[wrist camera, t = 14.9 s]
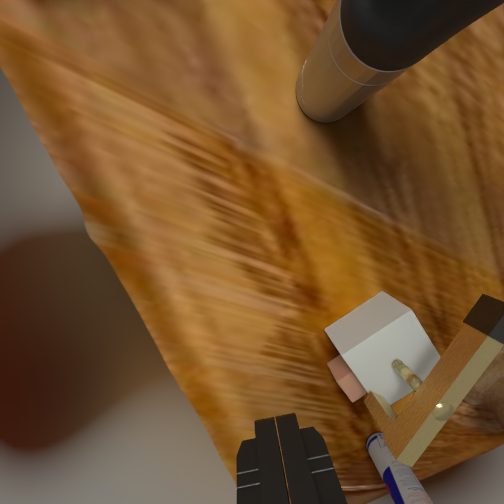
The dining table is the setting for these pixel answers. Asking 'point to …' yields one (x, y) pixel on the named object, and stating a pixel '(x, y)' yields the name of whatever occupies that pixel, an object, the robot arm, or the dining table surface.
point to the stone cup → (490, 388)
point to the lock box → (383, 345)
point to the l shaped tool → (441, 383)
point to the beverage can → (396, 474)
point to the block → (346, 378)
